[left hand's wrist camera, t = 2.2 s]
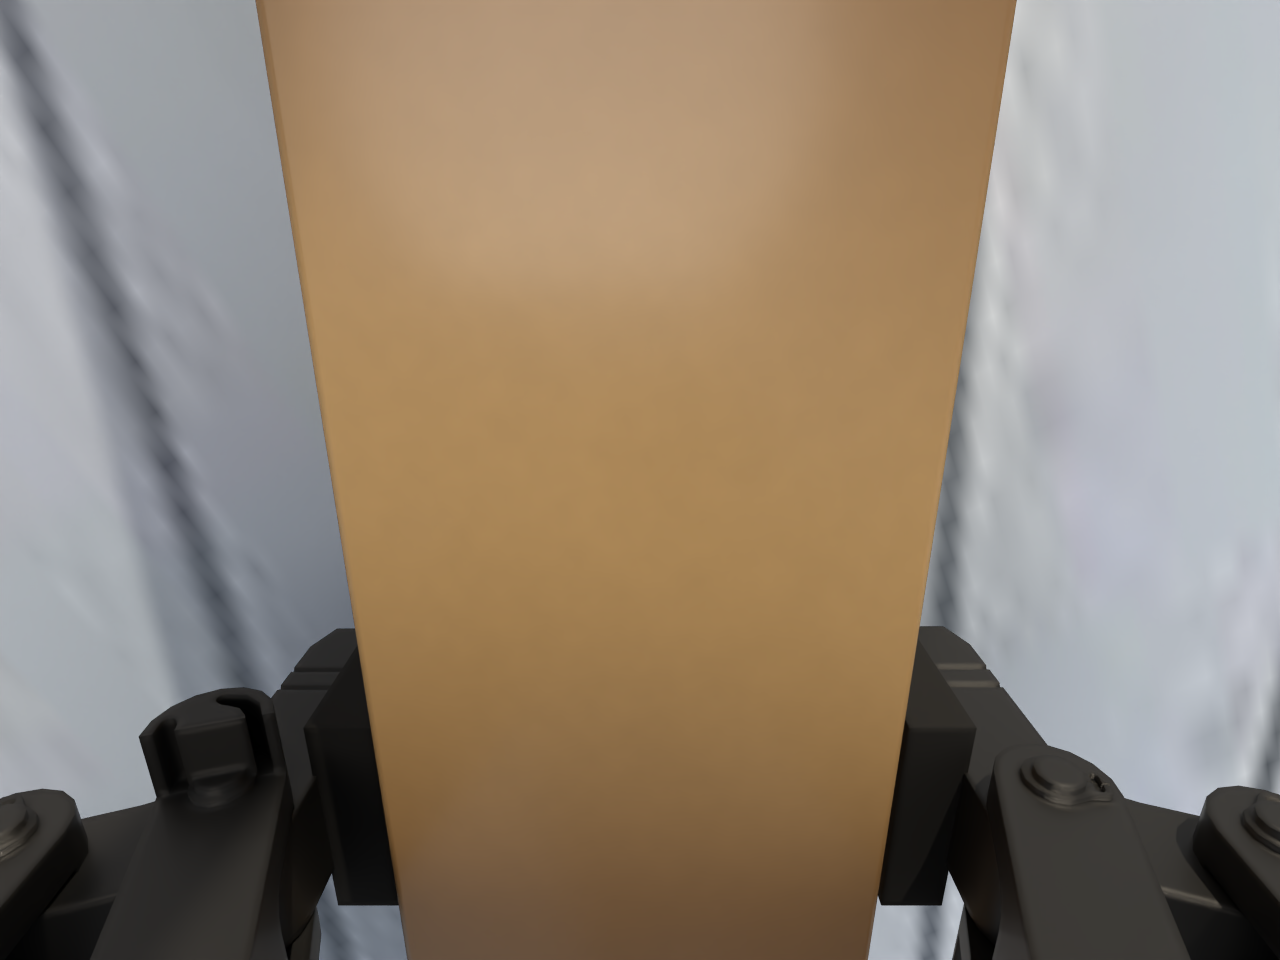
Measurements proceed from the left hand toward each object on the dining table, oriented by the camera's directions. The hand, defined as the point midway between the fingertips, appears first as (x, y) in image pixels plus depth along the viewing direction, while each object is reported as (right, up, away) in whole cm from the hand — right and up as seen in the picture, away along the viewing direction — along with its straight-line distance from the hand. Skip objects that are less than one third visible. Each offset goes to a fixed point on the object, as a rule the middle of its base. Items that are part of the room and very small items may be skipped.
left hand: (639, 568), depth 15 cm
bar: (0, +27, -9) cm, 29 cm away
